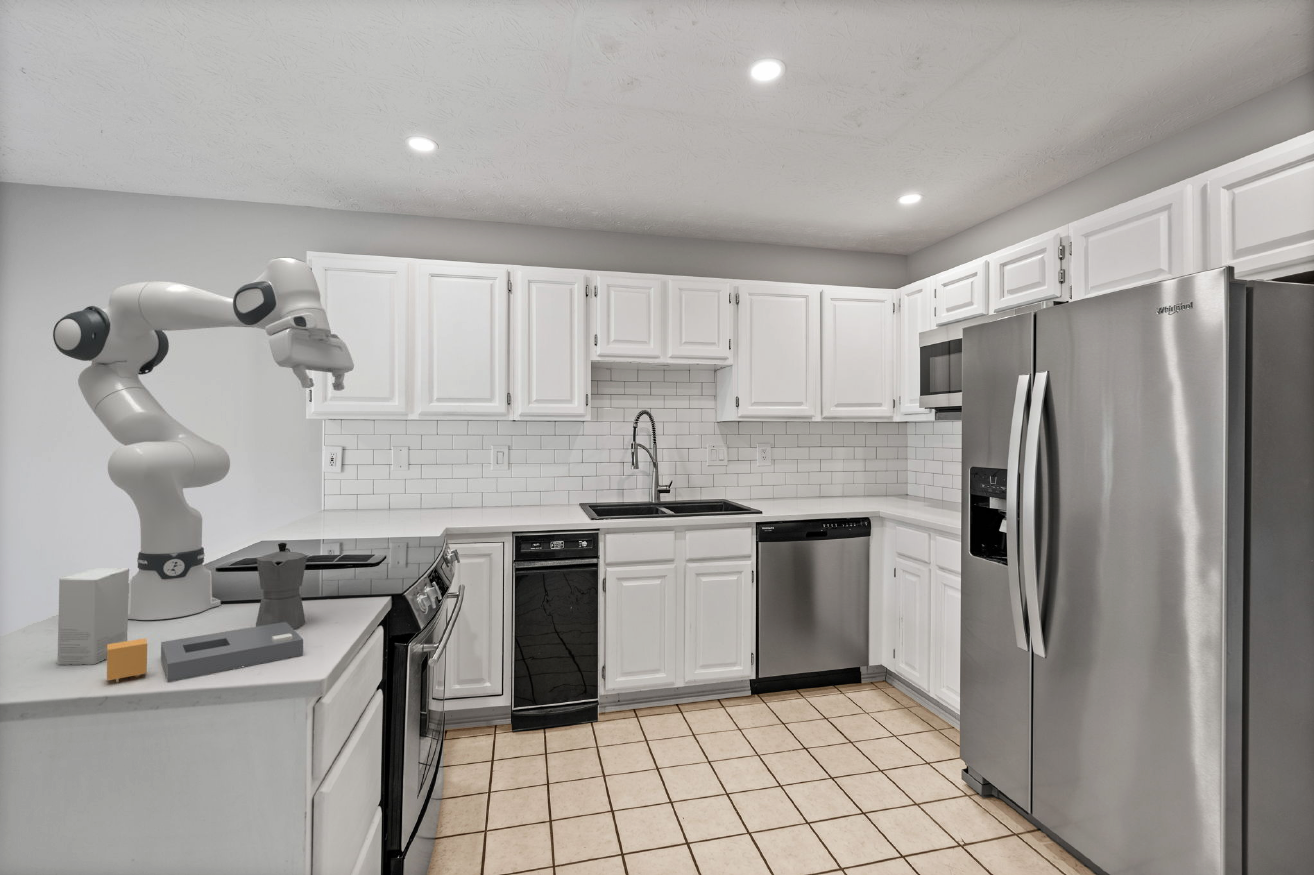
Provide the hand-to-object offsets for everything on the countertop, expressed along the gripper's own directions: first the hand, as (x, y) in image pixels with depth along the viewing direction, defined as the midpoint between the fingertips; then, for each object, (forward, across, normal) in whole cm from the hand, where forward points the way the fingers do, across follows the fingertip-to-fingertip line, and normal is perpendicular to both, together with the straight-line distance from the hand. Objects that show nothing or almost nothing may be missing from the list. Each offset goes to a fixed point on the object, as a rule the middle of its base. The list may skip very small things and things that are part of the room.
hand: (324, 388), depth 136 cm
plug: (+45, +35, -24) cm, 62 cm away
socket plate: (+48, +23, -17) cm, 56 cm away
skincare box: (+41, +29, -39) cm, 63 cm away
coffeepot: (+47, +4, -23) cm, 52 cm away
